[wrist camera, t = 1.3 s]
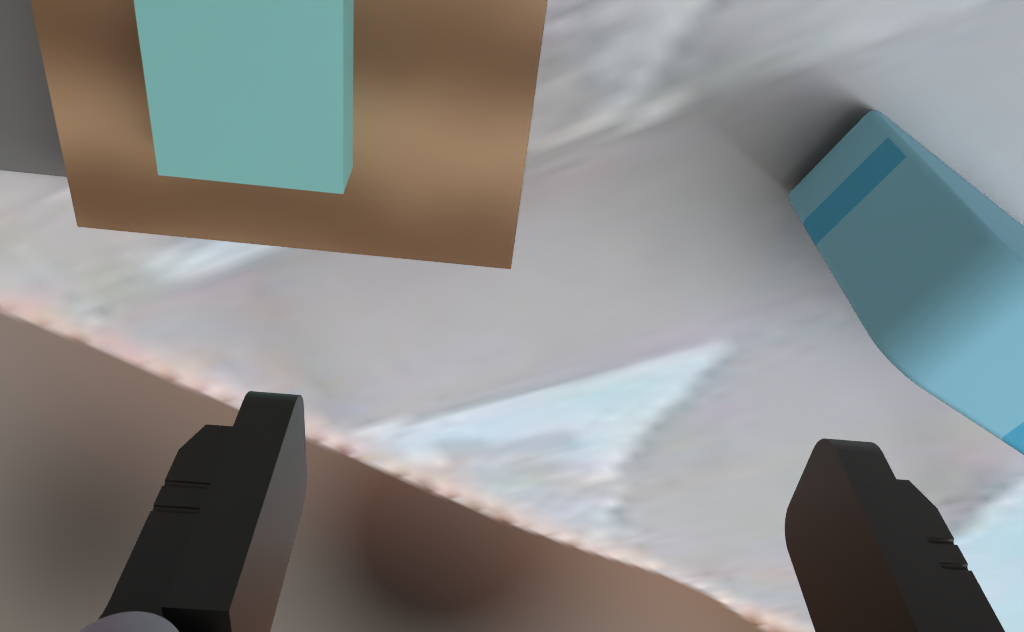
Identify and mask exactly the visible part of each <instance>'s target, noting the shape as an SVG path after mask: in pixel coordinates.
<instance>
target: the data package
mask: <svg viewBox="0 0 1024 632" xmlns="http://www.w3.org/2000/svg"><path fill="white" fill-rule="evenodd" d="M789 201H790V203H791V205H792V207H793V208H794V210H795V212H796V213H797V215H798V217H799V218H800V220H801V222H802V223H803V225H804V227H805V228H806V230H807V232H808V233H809V235H810V237H811V239H812V240H813V242H814V244H815V245H816V247H817V249H818V250H819V252H820V254H821V255H822V257H823V259H824V260H825V262H826V264H827V265H828V267H829V269H830V270H831V272H832V274H833V275H834V277H835V279H836V280H837V282H838V284H839V285H840V287H841V289H842V290H843V292H844V294H845V295H846V297H847V299H848V300H849V302H850V304H851V305H852V307H853V309H854V311H855V312H856V314H857V316H858V317H859V319H860V321H861V322H862V324H863V326H864V327H865V329H866V331H867V332H868V334H869V336H870V337H871V339H872V340H873V342H874V343H875V344H876V346H877V347H878V348H879V349H880V351H881V352H882V353H883V354H884V355H885V356H886V357H887V358H888V360H889V361H890V362H891V363H892V364H893V365H894V366H895V367H896V368H897V369H899V370H900V371H901V372H902V373H903V374H904V375H905V376H906V377H908V378H909V379H910V380H911V381H913V382H914V383H915V384H917V385H918V386H919V387H921V388H922V389H924V390H925V391H927V392H929V393H930V394H932V395H933V396H935V397H936V398H938V399H939V400H941V401H942V402H944V403H945V404H947V405H948V406H950V407H951V408H953V409H955V410H956V411H958V412H959V413H961V414H962V415H964V416H965V417H967V418H968V419H970V420H971V421H973V422H974V423H976V424H977V425H979V426H981V427H982V428H984V429H985V430H987V431H988V432H990V433H991V434H993V435H994V436H996V437H997V438H999V439H1000V440H1002V441H1003V442H1005V443H1007V444H1008V445H1010V446H1011V447H1013V448H1014V449H1016V450H1017V451H1019V452H1020V453H1022V454H1023V455H1024V226H1022V225H1021V224H1020V223H1019V222H1017V221H1016V220H1015V219H1014V218H1012V217H1011V216H1010V215H1009V214H1007V213H1006V212H1005V211H1004V210H1002V209H1001V208H1000V207H999V206H997V205H996V204H995V203H994V202H992V201H991V200H990V199H989V198H987V197H986V196H985V195H984V194H982V193H981V192H980V191H979V190H977V189H976V188H975V187H974V186H972V185H971V184H970V183H969V182H967V181H966V180H965V179H964V178H962V177H961V176H960V175H959V174H957V173H956V172H955V171H954V170H952V169H951V168H950V167H949V166H947V165H946V164H945V163H944V162H942V161H941V160H940V159H939V158H937V157H936V156H935V155H934V154H932V153H931V152H930V151H929V150H927V149H926V148H925V147H924V146H922V145H921V144H920V143H919V142H917V141H916V140H915V139H914V138H912V137H911V136H910V135H909V134H907V133H906V132H905V131H904V130H902V129H901V128H900V127H898V126H897V125H896V124H895V123H893V122H892V121H891V120H890V119H888V118H887V117H886V116H884V115H883V114H882V113H880V112H878V111H875V110H873V111H869V112H868V113H867V114H866V115H865V116H864V117H863V118H862V119H861V120H860V121H859V122H858V123H857V124H856V125H855V126H854V127H853V128H852V129H851V130H850V131H849V132H848V133H847V134H846V135H845V136H844V137H843V138H842V139H841V140H840V141H839V142H838V143H837V145H836V146H835V147H834V148H833V149H832V150H831V151H830V152H829V153H828V154H827V155H826V156H825V157H824V158H823V159H822V160H821V161H820V162H819V163H818V164H817V165H816V166H815V167H814V168H813V169H812V170H811V171H810V172H809V173H808V174H807V175H806V176H805V177H804V178H803V180H802V181H801V182H800V183H799V184H798V185H797V186H796V187H795V188H794V189H793V190H792V191H791V192H790V194H789Z"/></svg>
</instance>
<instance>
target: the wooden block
mask: <svg viewBox="0 0 1024 632" xmlns="http://www.w3.org/2000/svg"><path fill="white" fill-rule="evenodd" d="M30 1H31V6H32V11H33V15H34V20H35V25H36V30H37V35H38V39H39V44H40V49H41V54H42V58H43V63H44V68H45V73H46V78H47V82H48V87H49V92H50V97H51V102H52V106H53V111H54V116H55V121H56V126H57V130H58V135H59V140H60V145H61V149H62V154H63V159H64V164H65V169H66V173H67V178H68V183H69V188H70V193H71V197H72V202H73V207H74V212H75V217H76V221H77V226H78V227H87V228H97V229H107V230H117V231H128V232H138V233H148V234H158V235H168V236H179V237H189V238H199V239H209V240H219V241H230V242H240V243H250V244H260V245H271V246H281V247H291V248H301V249H311V250H322V251H332V252H342V253H352V254H362V255H373V256H383V257H393V258H403V259H413V260H424V261H434V262H444V263H454V264H464V265H475V266H485V267H495V268H505V269H511V264H512V256H513V249H514V242H515V234H516V227H517V220H518V212H519V205H520V198H521V190H522V183H523V176H524V168H525V161H526V154H527V146H528V139H529V132H530V124H531V117H532V110H533V102H534V95H535V88H536V80H537V73H538V66H539V58H540V51H541V44H542V36H543V29H544V22H545V14H546V7H547V0H354V28H353V168H352V171H351V174H350V177H349V179H348V182H347V185H346V188H345V190H344V193H343V194H337V193H328V192H318V191H308V190H298V189H289V188H279V187H269V186H259V185H250V184H240V183H230V182H221V181H211V180H201V179H191V178H182V177H172V176H162V175H158V171H157V164H156V157H155V149H154V142H153V135H152V128H151V121H150V114H149V107H148V99H147V92H146V85H145V78H144V71H143V64H142V57H141V49H140V42H139V35H138V28H137V21H136V14H135V6H134V0H30Z"/></svg>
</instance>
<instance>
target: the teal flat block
mask: <svg viewBox="0 0 1024 632" xmlns="http://www.w3.org/2000/svg"><path fill="white" fill-rule="evenodd" d="M134 6H135V14H136V21H137V28H138V35H139V42H140V49H141V57H142V64H143V71H144V78H145V85H146V92H147V99H148V107H149V114H150V121H151V128H152V135H153V142H154V149H155V157H156V164H157V171H158V175H162V176H172V177H182V178H191V179H201V180H211V181H221V182H230V183H240V184H250V185H259V186H269V187H279V188H289V189H298V190H308V191H318V192H328V193H337V194H343V193H344V190H345V188H346V185H347V182H348V179H349V177H350V174H351V171H352V168H353V28H354V0H134Z"/></svg>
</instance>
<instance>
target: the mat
mask: <svg viewBox="0 0 1024 632" xmlns="http://www.w3.org/2000/svg"><path fill="white" fill-rule="evenodd" d="M0 170H5V171H15V172H24V173H34V174H44V175H54V176H64V177H67V173H66V169H65V164H64V159H63V154H62V149H61V145H60V140H59V135H58V130H57V126H56V121H55V116H54V111H53V106H52V102H51V97H50V92H49V87H48V82H47V78H46V73H45V68H44V63H43V58H42V54H41V49H40V44H39V39H38V35H37V30H36V25H35V20H34V15H33V11H32V6H31V1H30V0H0Z"/></svg>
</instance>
